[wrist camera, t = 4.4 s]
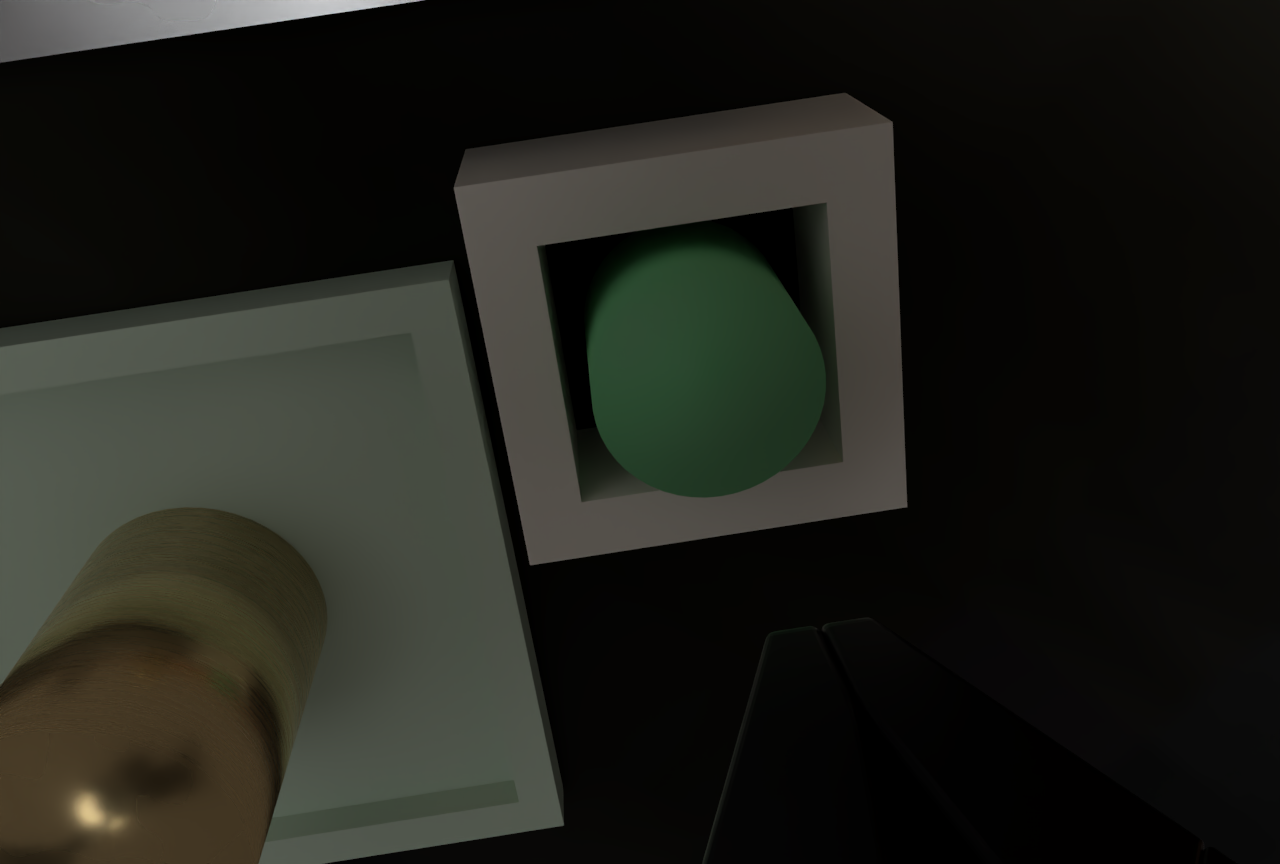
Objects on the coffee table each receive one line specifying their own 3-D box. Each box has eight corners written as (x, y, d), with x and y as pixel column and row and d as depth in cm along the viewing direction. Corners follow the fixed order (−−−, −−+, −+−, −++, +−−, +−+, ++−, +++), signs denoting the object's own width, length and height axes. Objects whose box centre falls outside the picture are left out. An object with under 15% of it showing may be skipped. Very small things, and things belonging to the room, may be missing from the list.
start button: (788, 391, 18) (832, 478, 15) (598, 421, 18) (609, 513, 15) (773, 204, 17) (818, 261, 14) (568, 234, 17) (574, 299, 14)
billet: (352, 690, 20) (289, 951, 15) (123, 726, 20) (-15, 999, 15) (292, 489, 18) (199, 707, 13) (42, 528, 18) (-145, 762, 13)
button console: (863, 435, 19) (907, 506, 17) (531, 486, 19) (530, 565, 17) (845, 92, 17) (892, 121, 15) (465, 149, 17) (453, 187, 14)
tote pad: (562, 787, 22) (563, 825, 21) (15, 873, 22) (-8, 915, 21) (453, 260, 17) (448, 279, 16) (-235, 363, 17) (-278, 389, 16)
